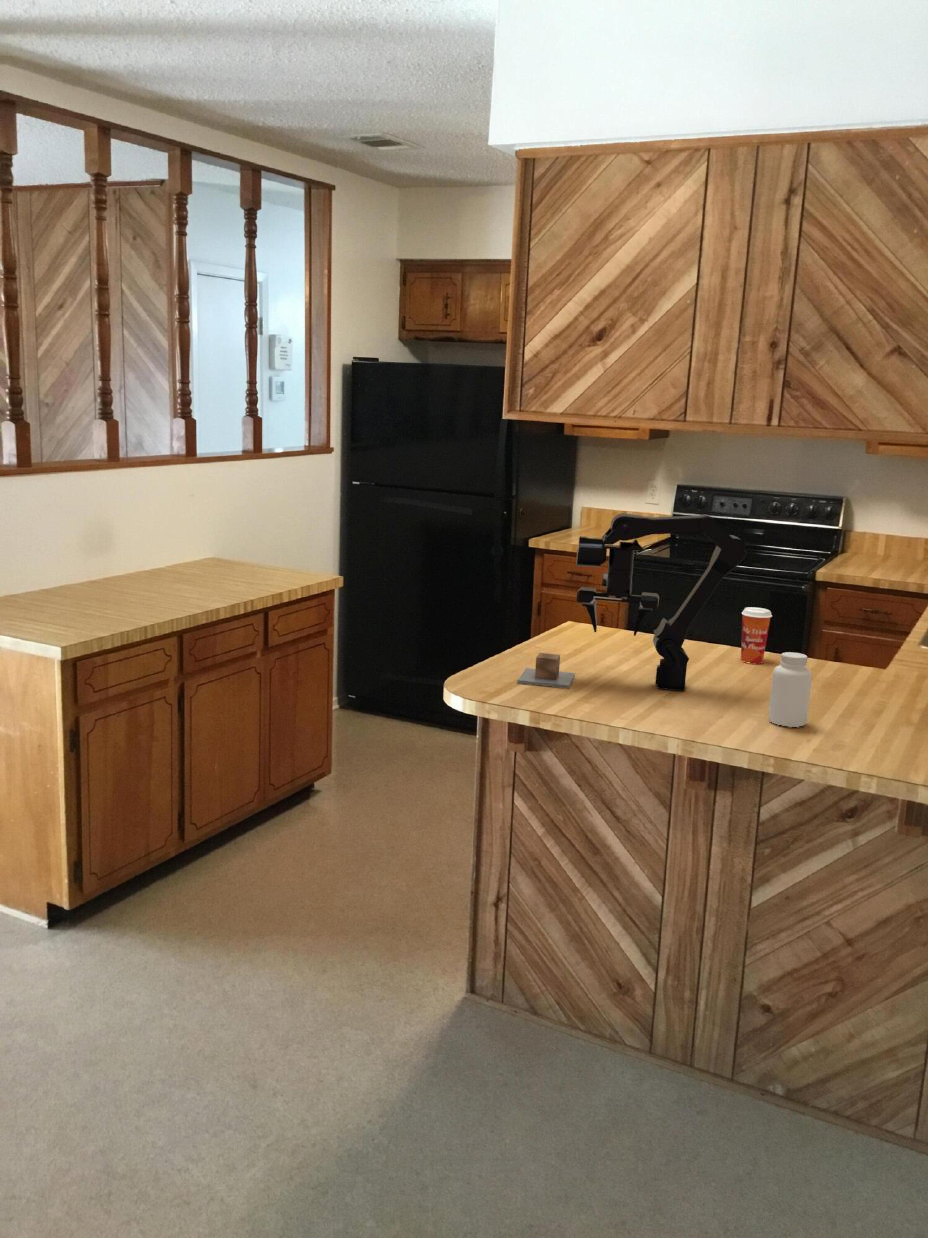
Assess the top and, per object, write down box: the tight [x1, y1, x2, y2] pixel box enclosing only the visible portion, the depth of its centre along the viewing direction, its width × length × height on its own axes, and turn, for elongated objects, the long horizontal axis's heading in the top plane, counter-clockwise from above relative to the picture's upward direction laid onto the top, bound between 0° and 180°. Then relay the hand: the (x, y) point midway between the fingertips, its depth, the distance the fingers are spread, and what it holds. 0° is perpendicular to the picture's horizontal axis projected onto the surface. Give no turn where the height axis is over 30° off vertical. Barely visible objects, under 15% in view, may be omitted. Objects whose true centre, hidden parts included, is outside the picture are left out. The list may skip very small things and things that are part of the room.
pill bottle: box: [768, 651, 813, 728], centre depth 228 cm, size 8×8×15 cm
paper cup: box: [740, 606, 773, 663], centre depth 282 cm, size 8×8×14 cm
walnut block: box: [534, 652, 561, 680], centre depth 254 cm, size 5×5×5 cm
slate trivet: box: [517, 667, 576, 690], centre depth 255 cm, size 12×12×1 cm
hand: (615, 633), depth 252 cm, fingers open, 9 cm apart
